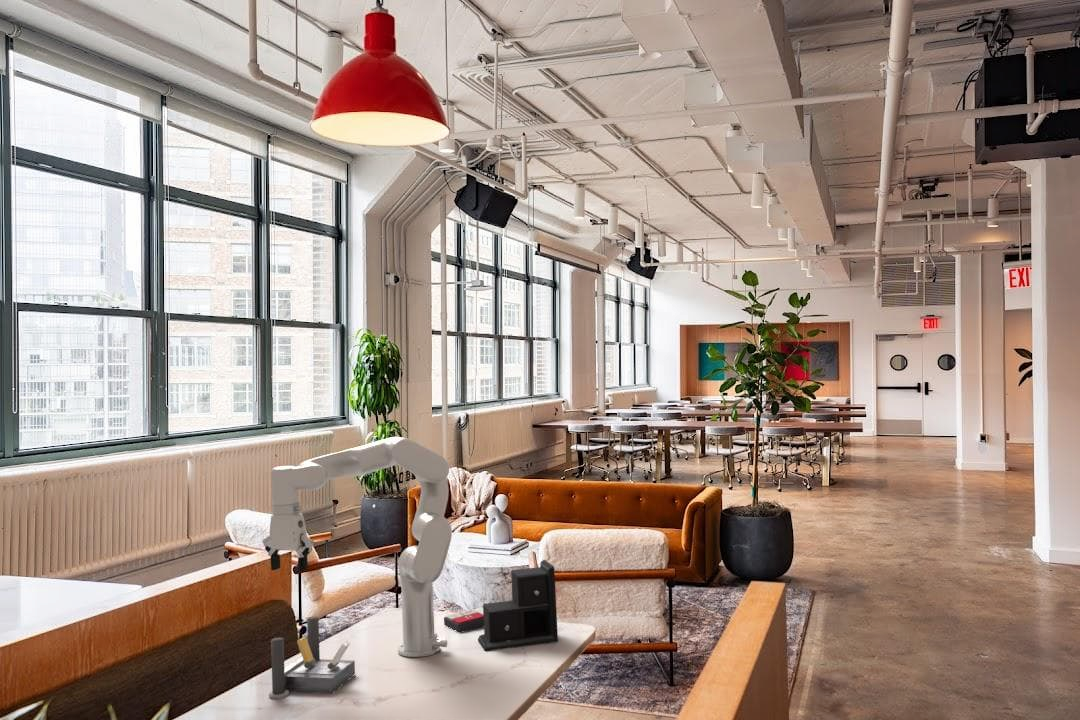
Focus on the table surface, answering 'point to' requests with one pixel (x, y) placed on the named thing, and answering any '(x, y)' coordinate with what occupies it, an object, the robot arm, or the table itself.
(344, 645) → the paddle white
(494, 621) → the black drawer organizer
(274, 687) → the post near
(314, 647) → the post far
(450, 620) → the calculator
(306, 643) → the paddle amber
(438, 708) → the table surface
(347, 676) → the breaker panel
